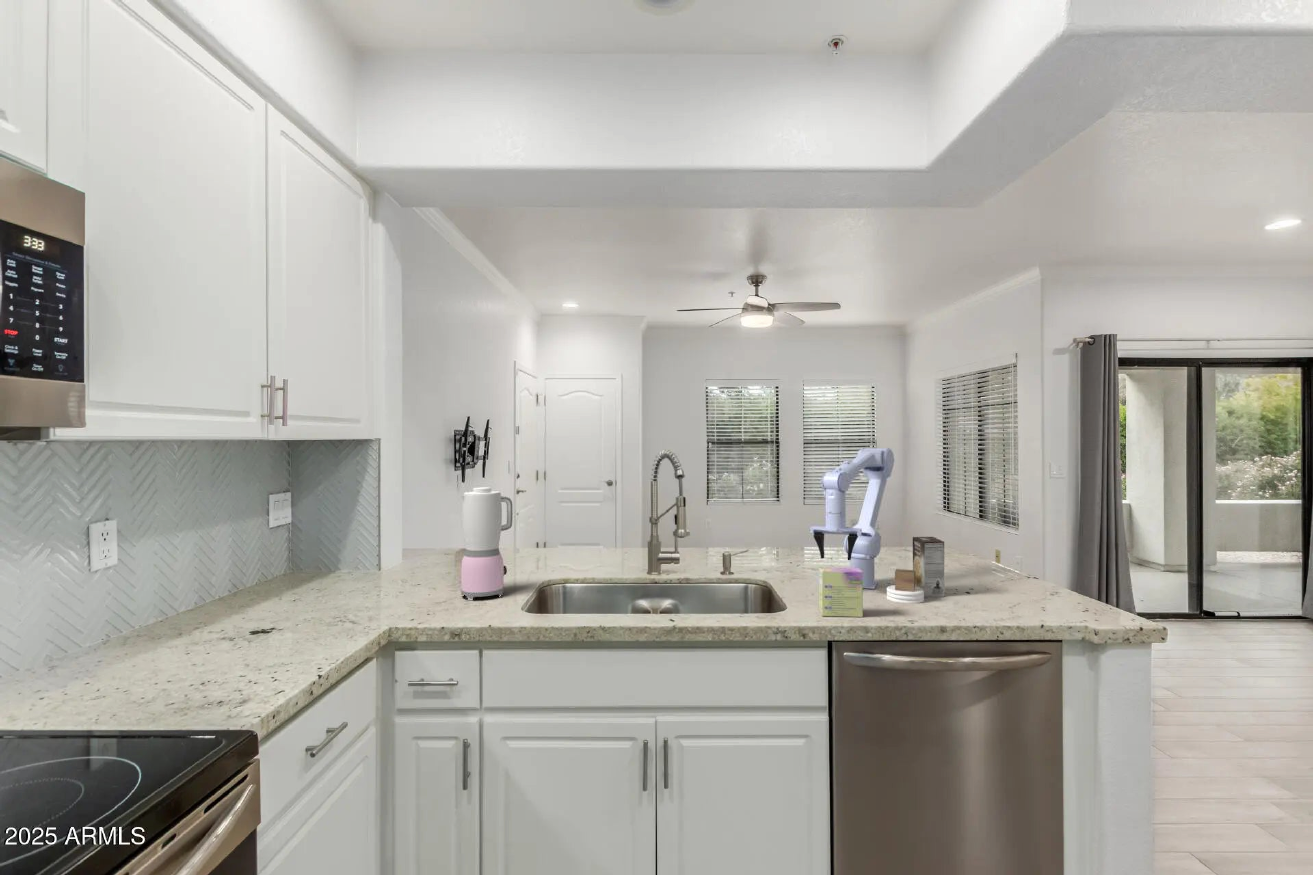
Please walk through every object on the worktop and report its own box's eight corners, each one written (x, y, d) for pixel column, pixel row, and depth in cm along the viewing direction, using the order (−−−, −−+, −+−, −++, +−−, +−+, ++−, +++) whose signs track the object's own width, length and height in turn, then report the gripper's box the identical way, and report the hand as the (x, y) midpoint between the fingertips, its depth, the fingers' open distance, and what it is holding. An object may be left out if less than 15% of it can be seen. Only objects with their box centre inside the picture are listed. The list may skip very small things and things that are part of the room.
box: (858, 611, 175) (858, 567, 175) (863, 617, 169) (862, 571, 169) (818, 610, 176) (818, 566, 176) (821, 616, 170) (821, 570, 170)
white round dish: (884, 603, 185) (884, 590, 185) (888, 595, 194) (888, 583, 194) (923, 606, 181) (923, 593, 181) (925, 598, 190) (924, 586, 190)
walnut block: (896, 586, 190) (896, 568, 190) (915, 587, 188) (915, 570, 188) (895, 589, 186) (894, 572, 186) (914, 591, 184) (913, 573, 184)
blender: (468, 603, 187) (467, 490, 187) (455, 594, 197) (454, 487, 197) (520, 595, 196) (520, 487, 196) (505, 587, 206) (504, 485, 206)
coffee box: (911, 589, 199) (911, 536, 199) (933, 589, 199) (932, 536, 199) (923, 596, 190) (923, 541, 190) (945, 596, 190) (945, 541, 190)
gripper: (808, 513, 193) (808, 559, 193) (859, 515, 188) (860, 562, 188) (812, 510, 200) (812, 555, 200) (862, 512, 194) (862, 558, 194)
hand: (835, 558), depth 194 cm, fingers open, 7 cm apart
